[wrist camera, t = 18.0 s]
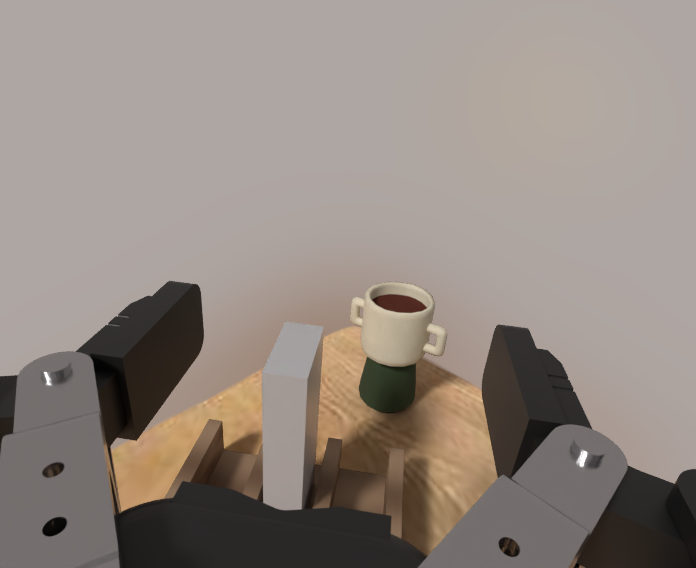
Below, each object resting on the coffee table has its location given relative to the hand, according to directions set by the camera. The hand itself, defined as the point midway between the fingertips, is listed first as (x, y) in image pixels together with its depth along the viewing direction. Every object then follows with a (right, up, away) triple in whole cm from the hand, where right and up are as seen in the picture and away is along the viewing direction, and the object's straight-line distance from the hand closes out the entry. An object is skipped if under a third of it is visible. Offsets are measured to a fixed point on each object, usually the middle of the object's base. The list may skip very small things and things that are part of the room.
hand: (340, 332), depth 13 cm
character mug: (+4, -12, +40) cm, 42 cm away
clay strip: (-4, -17, +25) cm, 31 cm away
